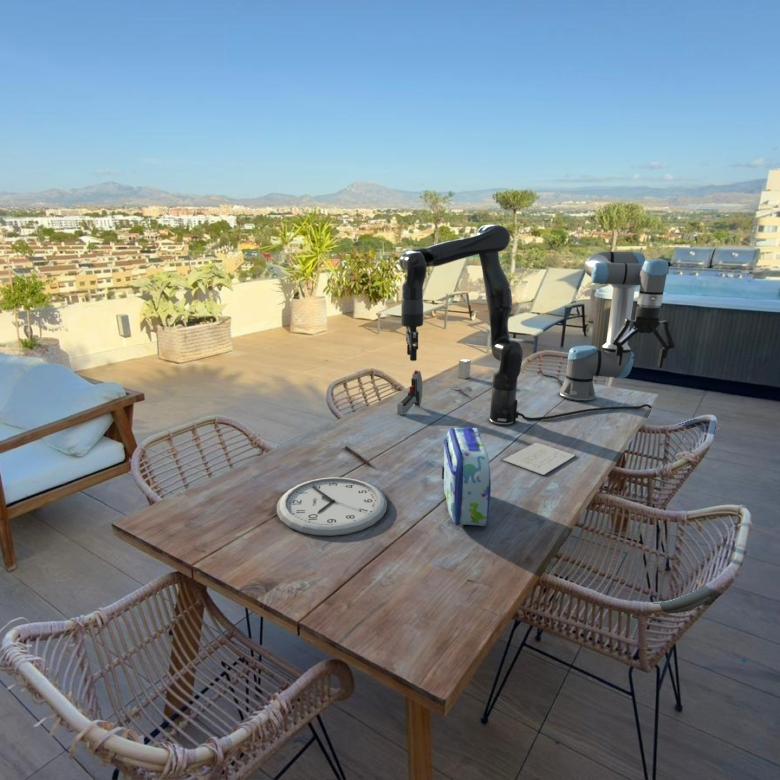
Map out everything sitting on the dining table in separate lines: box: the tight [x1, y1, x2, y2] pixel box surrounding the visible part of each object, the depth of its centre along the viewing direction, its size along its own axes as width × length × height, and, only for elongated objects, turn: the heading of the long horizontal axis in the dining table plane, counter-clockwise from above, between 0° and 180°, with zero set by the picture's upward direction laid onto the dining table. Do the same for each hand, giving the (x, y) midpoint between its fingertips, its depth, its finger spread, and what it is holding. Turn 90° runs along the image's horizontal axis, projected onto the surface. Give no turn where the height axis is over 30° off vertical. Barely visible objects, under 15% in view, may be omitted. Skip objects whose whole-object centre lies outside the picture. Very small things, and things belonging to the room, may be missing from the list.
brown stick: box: [344, 445, 370, 465], centre depth 173 cm, size 15×1×1 cm, turn 34°
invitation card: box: [502, 442, 577, 476], centre depth 174 cm, size 21×1×15 cm
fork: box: [450, 382, 467, 397], centre depth 243 cm, size 3×16×2 cm, turn 15°
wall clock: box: [276, 476, 388, 537], centre depth 142 cm, size 30×2×30 cm
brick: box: [457, 358, 472, 380], centre depth 266 cm, size 4×5×9 cm
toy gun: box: [396, 369, 423, 416], centre depth 215 cm, size 2×16×15 cm
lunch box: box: [441, 426, 492, 527], centre depth 140 cm, size 26×11×21 cm, turn 179°
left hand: (411, 357), depth 184 cm, fingers open, 8 cm apart
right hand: (638, 365), depth 186 cm, fingers open, 13 cm apart
